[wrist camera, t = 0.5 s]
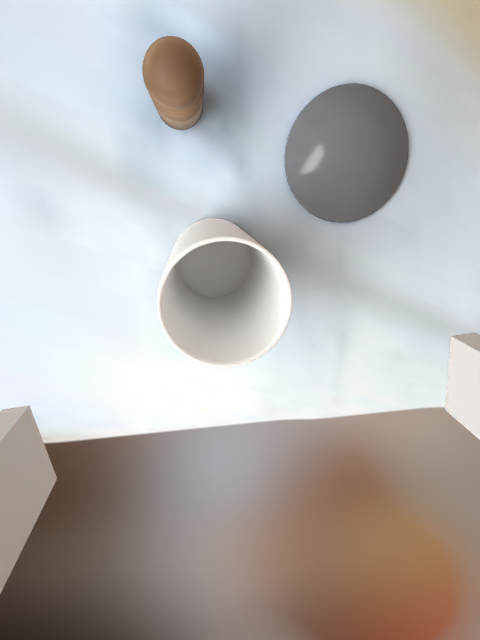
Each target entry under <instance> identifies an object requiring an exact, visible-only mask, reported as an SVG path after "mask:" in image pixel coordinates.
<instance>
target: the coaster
mask: <svg viewBox="0 0 480 640" xmlns="http://www.w3.org/2000/svg"><path fill="white" fill-rule="evenodd" d="M407 159H408V135H407V130H406V126H405V123H404V120H403V118H402V115H401V114H400V112H399V110H398V108H397V107H396V106H395V104H394V103H393V102H392V101H391V100H390V99H389V98H388V97H387V96H386V95H385V94H383V93H382V92H380V91H379V90H377V89H375V88H372V87H370V86H366V85H362V84H344V85H339V86H336V87H333V88H330V89H328V90H326V91H324V92H323V93H321V94H320V95H318V96H317V97H315V98H314V99H313V100H312V101H311V102H310V103H309V104H307V105H306V106H305V108H304V109H303V110H302V111H301V112H300V114H299V115H298V117H297V118H296V120H295V122H294V124H293V126H292V128H291V130H290V133H289V136H288V139H287V143H286V149H285V171H286V176H287V180H288V183H289V186H290V188H291V191H292V192H293V194H294V196H295V198H296V199H297V200H298V202H299V203H300V204H301V205H302V206H303V207H304V208H305V209H306V210H307V211H309V212H310V213H311V214H313V215H315V216H317V217H319V218H321V219H324V220H328V221H332V222H351V221H356V220H359V219H362V218H364V217H366V216H368V215H370V214H372V213H374V212H375V211H377V210H378V209H379V208H380V207H382V206H383V205H384V204H385V203H386V202H387V201H388V200H389V199H390V197H391V196H392V195H393V193H394V192H395V190H396V189H397V187H398V185H399V183H400V181H401V179H402V177H403V174H404V171H405V168H406V164H407Z"/></svg>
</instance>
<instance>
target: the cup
mask: <svg viewBox="0 0 480 640" xmlns="http://www.w3.org/2000/svg"><path fill="white" fill-rule="evenodd" d="M291 311H292V291H291V286H290V283H289V280H288V277H287V275H286V273H285V271H284V269H283V267H282V266H281V264H280V263H279V261H278V260H277V259H276V258H275V257H274V256H273V255H272V254H271V253H270V252H269V251H268V250H267V249H265V248H264V247H263V246H262V245H260V244H259V243H258V242H257V241H255V240H254V239H253V238H252V237H250V236H249V235H248V234H247V233H245V232H244V231H243V230H242V229H240V228H239V227H238V226H237V225H235V224H233V223H231V222H229V221H227V220H223V219H218V218H208V219H203V220H200V221H197V222H195V223H193V224H192V225H190V226H189V227H187V228H186V229H185V230H184V231H183V232H182V234H181V235H180V236H179V238H178V240H177V242H176V244H175V246H174V249H173V251H172V254H171V256H170V259H169V261H168V263H167V266H166V268H165V271H164V273H163V276H162V278H161V281H160V284H159V288H158V293H157V312H158V317H159V321H160V324H161V327H162V329H163V332H164V333H165V335H166V337H167V338H168V340H169V341H170V342H171V344H172V345H173V346H174V347H175V348H176V349H177V350H178V351H179V352H181V353H182V354H183V355H185V356H186V357H188V358H189V359H191V360H193V361H195V362H198V363H200V364H204V365H207V366H212V367H234V366H239V365H243V364H246V363H249V362H251V361H253V360H256V359H257V358H259V357H261V356H262V355H264V354H265V353H267V352H268V351H269V350H270V349H271V348H272V347H273V346H274V345H275V344H276V343H277V342H278V341H279V339H280V338H281V336H282V335H283V333H284V331H285V330H286V327H287V325H288V322H289V319H290V316H291Z"/></svg>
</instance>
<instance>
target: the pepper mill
mask: <svg viewBox="0 0 480 640" xmlns="http://www.w3.org/2000/svg"><path fill="white" fill-rule="evenodd" d="M143 78H144V82H145V85H146V88H147V90H148V92H149V94H150V96H151V98H152V100H153V102H154V105H155V107H156V109H157V111H158V113H159V115H160V117H161V119H162V120H163V121H164V122H165V123H166V124H167V125H168V126H170V127H171V128H174V129H177V130H185V129H188V128H191V127H192V126H194V125H195V124H196V123H197V121H198V120H199V118H200V116H201V113H202V105H203V91H204V68H203V64H202V61H201V58H200V56H199V55H198V53H197V51H196V50H195V49H194V47H193V46H192V45H191V44H189V43H188V42H187V41H185V40H184V39H182V38H179V37H175V36H166V37H162V38H159V39H158V40H156V41H155V42H153V43H152V44H151V45H150V47H149V48H148V50H147V52H146V54H145V56H144V60H143Z"/></svg>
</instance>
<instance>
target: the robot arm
mask: <svg viewBox="0 0 480 640" xmlns="http://www.w3.org/2000/svg"><path fill="white" fill-rule="evenodd" d="M445 410H446V411H447V412H448V413H450V414H451V415H452V416H453V417H454V418H455V419H457V420H458V421H459V422H460V423H461V424H462V425H463V426H464V427H466V428H467V429H468V430H469V431H470V432H471V433H473V434H474V435H475V436H476V437H477V438H479V439H480V335H478V334H476V333H469V334H462V335H456V336H451V346H450V357H449V369H448V381H447V392H446V404H445ZM56 479H57V478H56V475H55V472H54V470H53V467H52V464H51V462H50V459H49V456H48V454H47V451H46V449H45V446H44V443H43V440H42V438H41V435H40V433H39V430H38V427H37V425H36V422H35V419H34V417H33V414H32V411H31V409H30V406H23V407H17V408H11V409H5V410H2V411H1V412H0V593H1V591H2V589H3V587H4V585H5V583H6V581H7V579H8V577H9V575H10V573H11V571H12V569H13V567H14V565H15V563H16V560H17V559H18V557H19V555H20V552H21V551H22V548H23V546H24V544H25V542H26V540H27V538H28V536H29V534H30V532H31V530H32V528H33V526H34V524H35V522H36V520H37V518H38V516H39V514H40V512H41V510H42V508H43V506H44V504H45V502H46V500H47V498H48V496H49V494H50V492H51V490H52V488H53V486H54V483H55V482H56Z"/></svg>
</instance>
